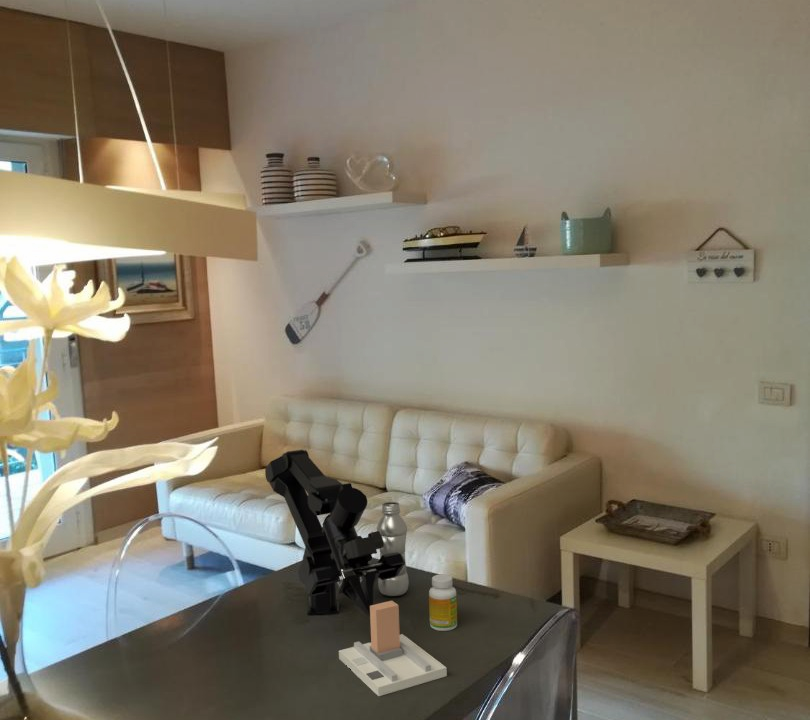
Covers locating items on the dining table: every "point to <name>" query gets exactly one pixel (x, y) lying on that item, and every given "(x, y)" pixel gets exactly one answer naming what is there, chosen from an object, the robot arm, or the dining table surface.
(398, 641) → the slide tab
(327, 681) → the dining table surface
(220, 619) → the dining table surface
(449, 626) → the supplement bottle
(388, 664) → the switch board
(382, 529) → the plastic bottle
